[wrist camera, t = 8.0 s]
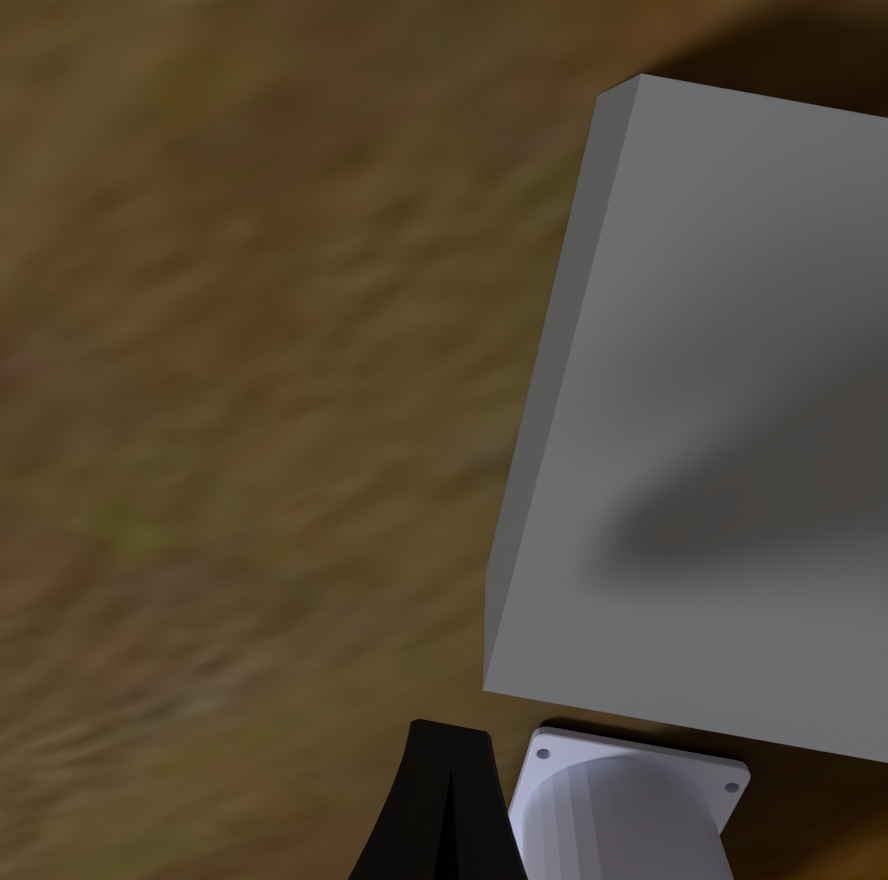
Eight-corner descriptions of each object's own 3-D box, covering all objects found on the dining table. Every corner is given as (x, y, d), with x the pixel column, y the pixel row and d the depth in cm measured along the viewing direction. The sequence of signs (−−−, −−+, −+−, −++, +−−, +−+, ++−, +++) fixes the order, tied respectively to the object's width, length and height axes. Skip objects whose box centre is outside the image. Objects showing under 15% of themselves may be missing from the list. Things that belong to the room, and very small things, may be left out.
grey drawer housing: (905, 648, 21) (1018, 785, 17) (485, 573, 21) (483, 690, 16) (1179, 201, 15) (1472, 223, 11) (597, 95, 15) (641, 73, 11)
